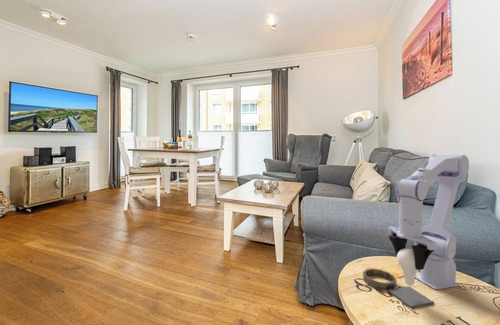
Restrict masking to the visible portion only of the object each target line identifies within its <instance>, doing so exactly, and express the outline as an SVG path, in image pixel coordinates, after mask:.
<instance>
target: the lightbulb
mask: <svg viewBox="0 0 500 325" xmlns="http://www.w3.org/2000/svg"><path fill="white" fill-rule="evenodd" d="M396 260H397V262H398V264H399V266H400V267H401V270H402V274H403V281H404V283H405V284H407V285H408V286H412V285H414V284H415V279H416V278H415V276H416V275H417V271H418V270H417V269H416V268H415V256H414V252H413V249H412V248H407V247H405V249H401V250H400V251H399V252H398V254H397V257H396Z"/></svg>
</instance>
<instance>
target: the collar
mask: <svg viewBox="0 0 500 325" xmlns="http://www.w3.org/2000/svg"><path fill="white" fill-rule="evenodd" d="M369 276H370V277H369ZM371 276H377V277H381V278H383V279H386V280H388V281H389V282H381V281H378V280H375V279H372V278H371ZM362 279H363V281H364V282H365V283H366V284H367V285H368V286H370V287H372V288H375V289H377V290H382V291H388V290H391V289H396V287H397V278H396V277H395V275H393V274H392V273H390V272H388V271H385V270H383V269H378V268H366V269H365V270H364V271H362Z"/></svg>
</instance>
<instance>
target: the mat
mask: <svg viewBox="0 0 500 325" xmlns="http://www.w3.org/2000/svg"><path fill="white" fill-rule="evenodd" d="M387 292H388V293H389V294H391V295H392V296H393V297H394V298H396V299H397V300H399V301H400V302H401V303H402V304H405V306H406V307H408V308H410V309H414V308H419V307H425V306H430V305H434V301H433V300H432V299H430V298H428V297H426V296H425V295H423V294H421V293H420V292H419V291H417V290H416V289H414V288H412V286H404V287H399V288H398V287H397V288H394V289H391V290H387Z"/></svg>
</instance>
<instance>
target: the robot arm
mask: <svg viewBox="0 0 500 325" xmlns="http://www.w3.org/2000/svg"><path fill="white" fill-rule="evenodd" d="M469 169H470V160H469V158H468V156H467V155H465V154H432V155H431V156H429V158H428V162H427V165H426V166H425V167H424V168H423V167H419V168H418V169H417V170H415V171H414V172H413V173H412V174H411V175H410V176H408V177H407V178H402V179H400V180H398V181H396V185H395V189H394V191H395V195H396V199H397V200H396V201H397V203H399V205H398V207H399V208H398V227H397V226H393V225H392V226H391V225H390V226H388V228H387V230H388V231H387V232H388V233H389V234H391V235H388V239H389V240H390V242H391V244H392V246H393V248H394V253H395V255H396V258H397V254H398V252H399V251H400V250H401V249H405V248H407V247H406V245H407V242H408V241H411V242H412V243H414V245H411V249H412V250H413V252H414V256H415V268H416V269H417V271H420V274H416V276H415V278H414V279H417V280H418V281H420V282H421V283H423V284H426V285H427V286H428V287H430V288H432V289H434V290H437V291H438V290H442V289H448V288H454V287H458V286H459V284H458V283H456V282H457V281H456V279H457V276H456V273H457V265H456V262H455V260H454V258H455V256H456V251H457V247H456V246H457V238H456V237H455V235H454V234H452V233H451V232H450V231H449V230H448V228H449V225H450V221H451V216H452V212H453V208H454V204H455V200H456V195H457V192H458V188H459V185H460V184H461V183H464V182H466V179H467V177H468V173H469ZM436 181H437V182H439V187H438V190H437V194H436V198H435V202H434V205H433V209H432V213H431V216H430V220H429V223H428V225H425V226H423V205H424V203H423V202H424V200H425V199H426V197H427V196H428V192H429V190H430V188H431V187H432V185H434V184H435V183H436Z"/></svg>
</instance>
